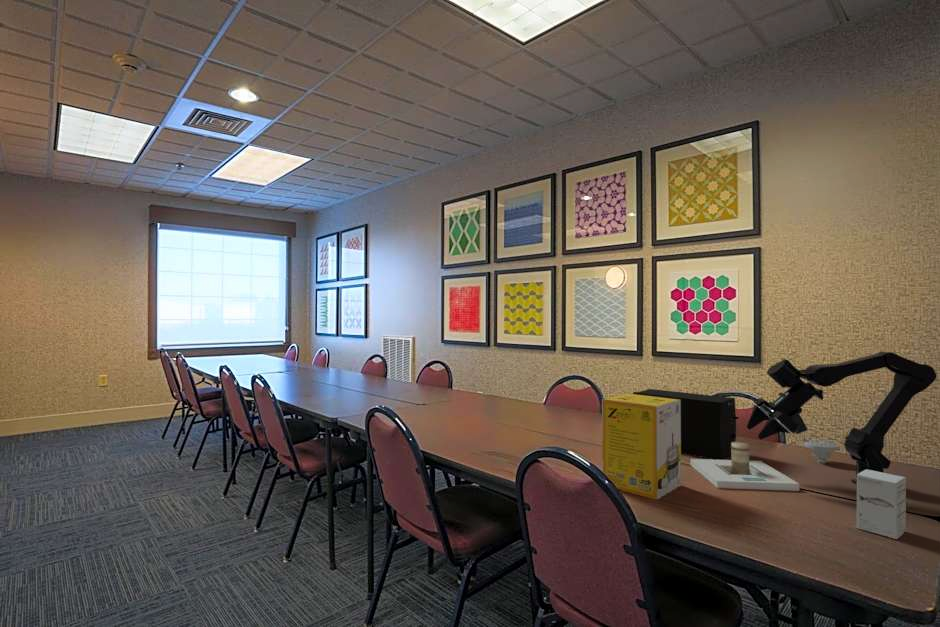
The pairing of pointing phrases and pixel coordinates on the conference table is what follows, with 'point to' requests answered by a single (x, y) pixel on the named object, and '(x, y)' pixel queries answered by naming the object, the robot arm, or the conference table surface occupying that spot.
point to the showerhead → (821, 449)
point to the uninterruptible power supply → (703, 422)
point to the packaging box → (642, 443)
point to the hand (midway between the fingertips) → (753, 433)
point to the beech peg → (739, 458)
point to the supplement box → (881, 503)
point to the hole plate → (759, 479)
